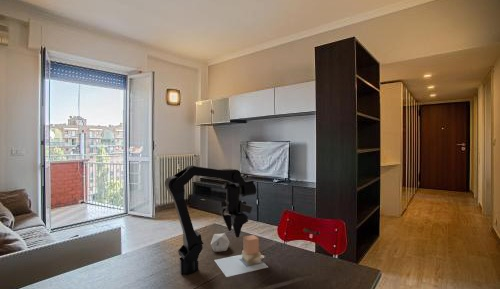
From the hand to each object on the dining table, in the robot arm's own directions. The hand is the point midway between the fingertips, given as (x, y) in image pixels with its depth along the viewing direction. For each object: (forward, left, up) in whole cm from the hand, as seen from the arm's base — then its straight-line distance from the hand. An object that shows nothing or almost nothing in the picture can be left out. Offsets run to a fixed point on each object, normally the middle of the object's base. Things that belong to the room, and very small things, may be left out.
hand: (233, 233), depth 114 cm
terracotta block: (+6, -5, -7) cm, 10 cm away
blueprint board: (+1, -5, -12) cm, 13 cm away
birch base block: (+6, -5, -11) cm, 13 cm away
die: (-2, +13, -12) cm, 18 cm away
